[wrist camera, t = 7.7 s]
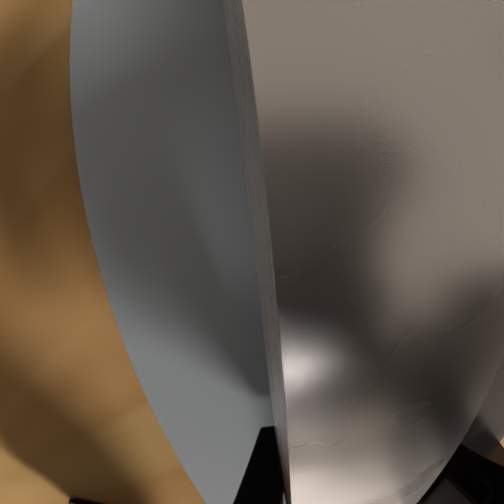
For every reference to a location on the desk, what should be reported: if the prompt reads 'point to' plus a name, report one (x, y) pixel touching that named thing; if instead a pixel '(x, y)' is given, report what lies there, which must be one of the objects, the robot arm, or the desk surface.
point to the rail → (373, 231)
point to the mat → (173, 222)
